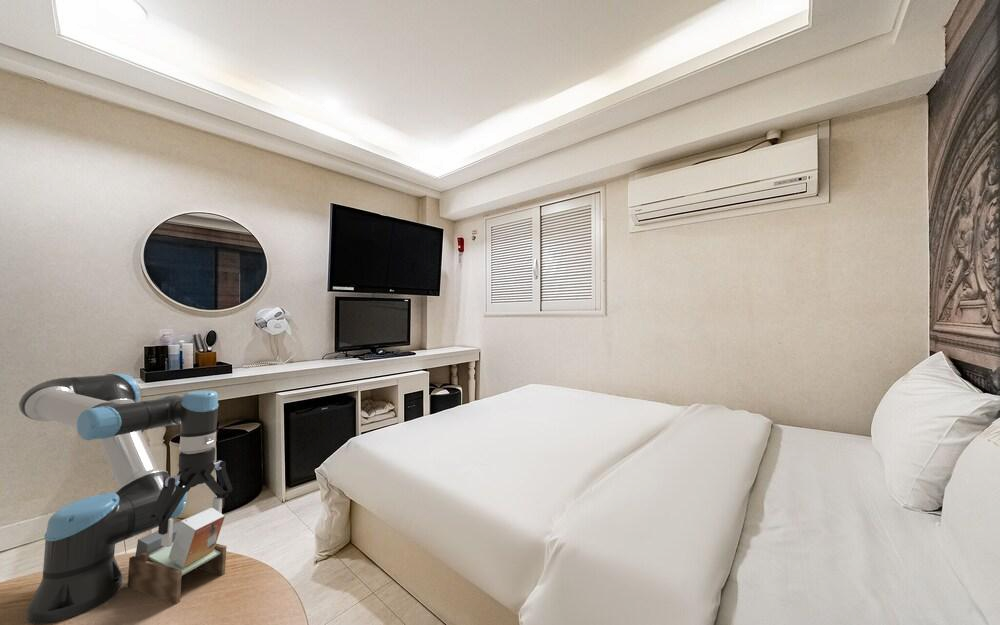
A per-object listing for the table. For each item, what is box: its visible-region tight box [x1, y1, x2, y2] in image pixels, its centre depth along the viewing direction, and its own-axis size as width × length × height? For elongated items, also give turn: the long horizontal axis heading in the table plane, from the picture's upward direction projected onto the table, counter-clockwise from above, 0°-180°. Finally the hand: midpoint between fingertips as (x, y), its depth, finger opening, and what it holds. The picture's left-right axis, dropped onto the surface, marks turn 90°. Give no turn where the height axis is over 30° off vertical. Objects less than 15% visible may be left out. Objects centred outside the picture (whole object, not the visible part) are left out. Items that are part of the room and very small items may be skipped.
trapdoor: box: [135, 521, 220, 576], centre depth 96 cm, size 18×9×6 cm, turn 72°
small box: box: [169, 506, 226, 568], centre depth 95 cm, size 8×6×10 cm
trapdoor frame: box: [126, 543, 227, 604], centre depth 96 cm, size 19×12×9 cm, turn 73°
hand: (192, 533), depth 95 cm, fingers open, 11 cm apart
